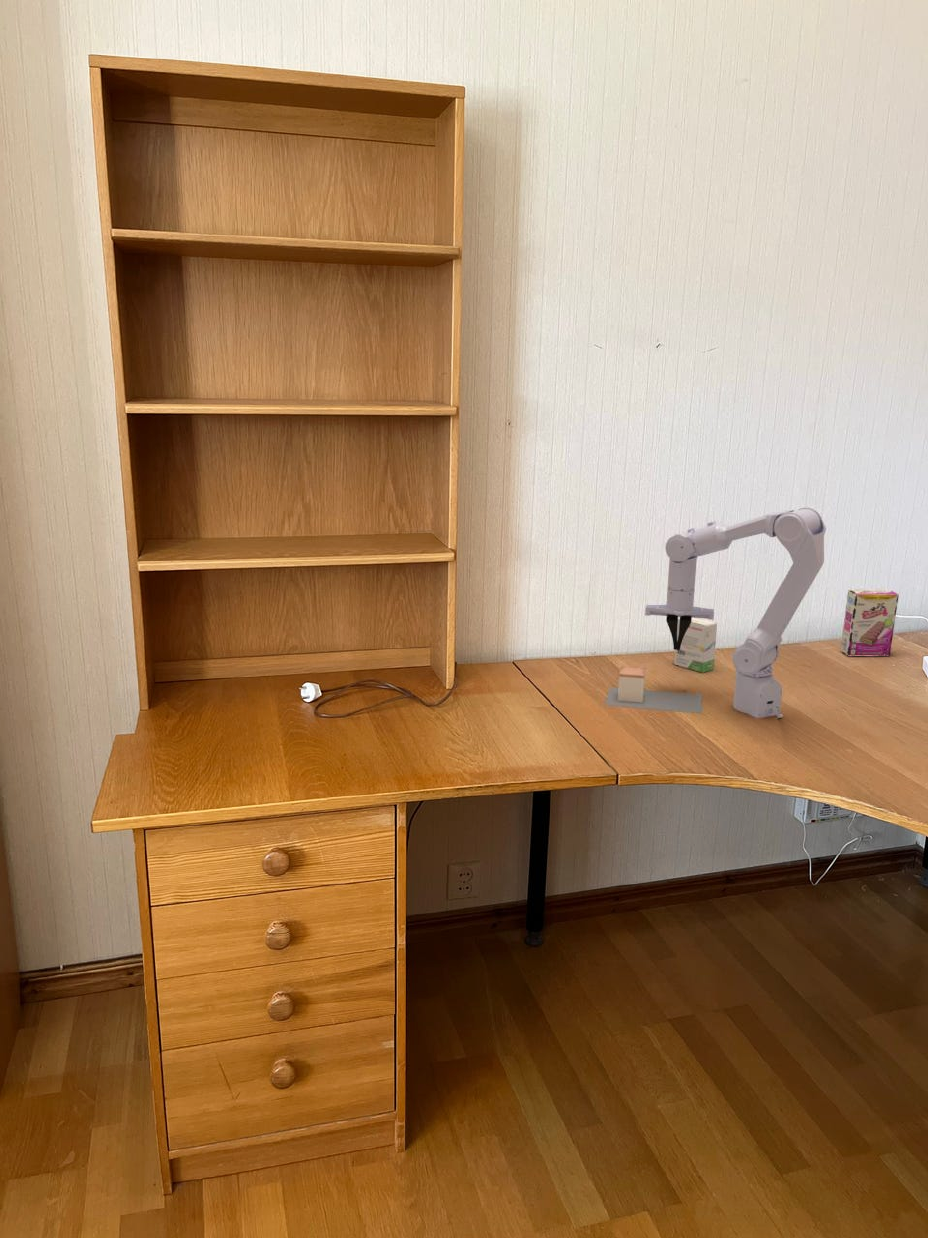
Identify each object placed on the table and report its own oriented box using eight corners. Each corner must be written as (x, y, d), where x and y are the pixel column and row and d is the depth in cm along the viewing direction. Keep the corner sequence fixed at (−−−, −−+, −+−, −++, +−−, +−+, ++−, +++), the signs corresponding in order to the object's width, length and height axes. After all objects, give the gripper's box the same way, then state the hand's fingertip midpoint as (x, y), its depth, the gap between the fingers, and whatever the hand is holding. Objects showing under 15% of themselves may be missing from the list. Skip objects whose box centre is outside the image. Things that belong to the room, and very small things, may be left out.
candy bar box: (848, 657, 242) (855, 593, 238) (839, 651, 247) (846, 589, 243) (891, 657, 243) (899, 593, 238) (882, 651, 248) (889, 588, 243)
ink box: (714, 669, 232) (718, 622, 229) (702, 673, 229) (706, 625, 225) (685, 661, 238) (689, 614, 235) (673, 664, 235) (676, 618, 232)
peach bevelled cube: (643, 694, 211) (645, 668, 209) (642, 702, 206) (644, 675, 204) (619, 692, 212) (621, 666, 210) (617, 700, 207) (619, 673, 205)
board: (701, 698, 211) (701, 694, 211) (702, 717, 200) (702, 713, 200) (609, 691, 216) (609, 686, 215) (604, 709, 204) (605, 705, 204)
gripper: (646, 590, 206) (642, 651, 210) (716, 594, 203) (711, 656, 207) (647, 583, 213) (643, 642, 216) (715, 587, 210) (710, 647, 213)
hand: (676, 648), depth 212 cm, fingers closed
